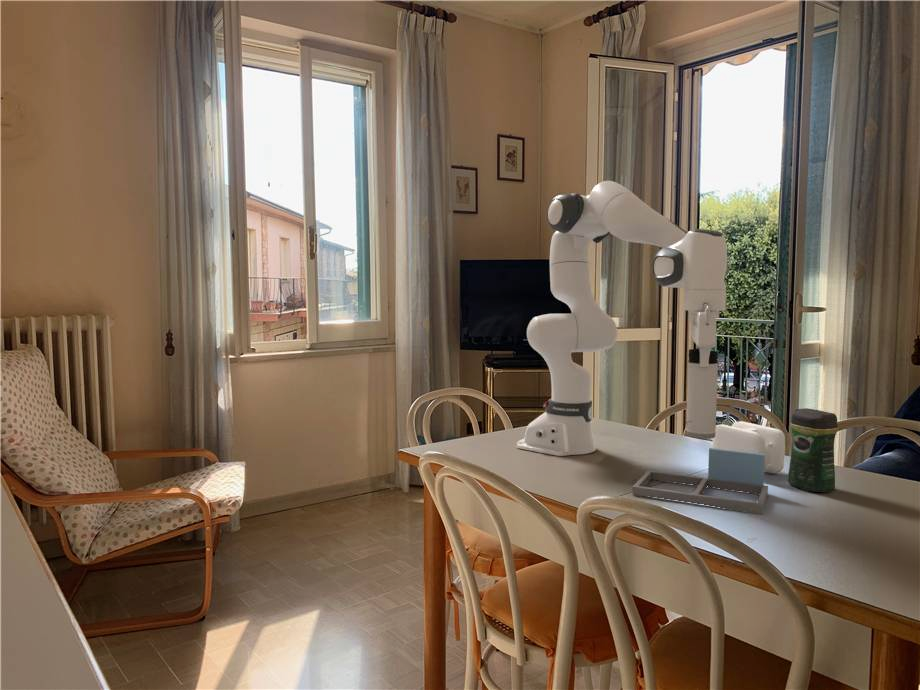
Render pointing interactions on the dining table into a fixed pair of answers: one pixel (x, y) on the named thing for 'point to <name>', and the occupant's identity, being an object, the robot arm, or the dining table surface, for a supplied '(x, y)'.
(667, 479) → the rack
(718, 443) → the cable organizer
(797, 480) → the coffee jar
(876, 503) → the dining table surface
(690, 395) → the travel mug
